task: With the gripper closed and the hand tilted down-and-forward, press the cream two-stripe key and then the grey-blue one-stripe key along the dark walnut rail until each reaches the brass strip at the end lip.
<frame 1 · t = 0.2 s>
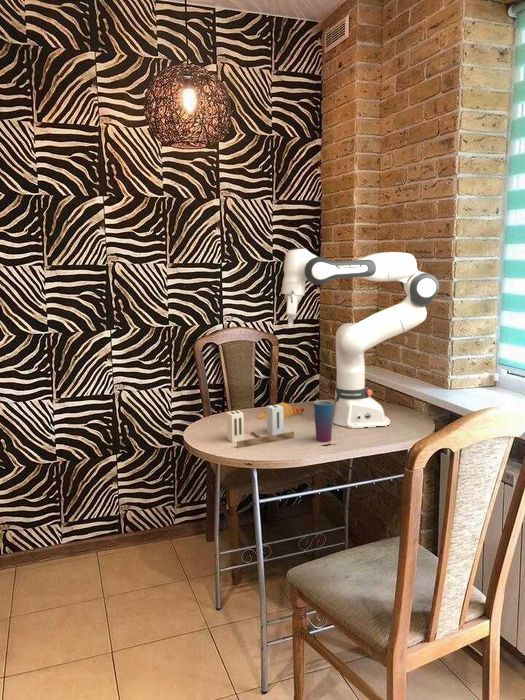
hand: (290, 325, 218), 39 cm above the table, tool pointing down, fingers open, 8 cm apart
key one: (275, 419, 205), point 6 cm above the table, slide at 0.0 cm
rail board: (259, 442, 200), on the table
key two: (235, 426, 198), point 6 cm above the table, slide at 0.0 cm
croissant: (280, 419, 231), on the table
cup: (323, 444, 197), on the table
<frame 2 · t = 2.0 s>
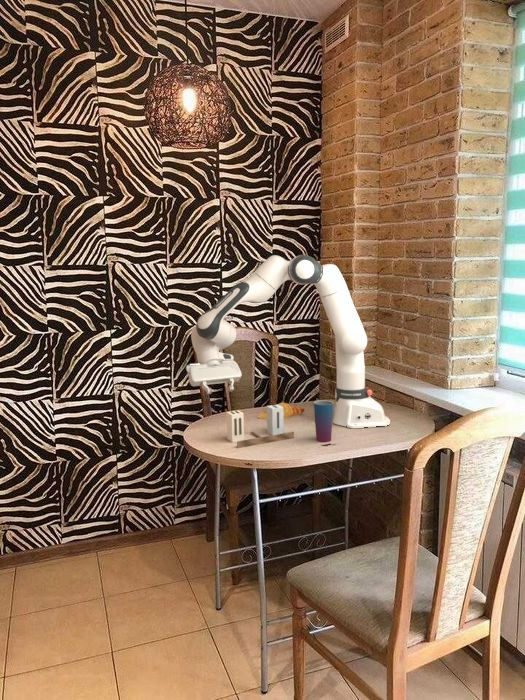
hand: (220, 391, 208), 16 cm above the table, tool tilted 45°, fingers open, 7 cm apart
nothing on the table moved.
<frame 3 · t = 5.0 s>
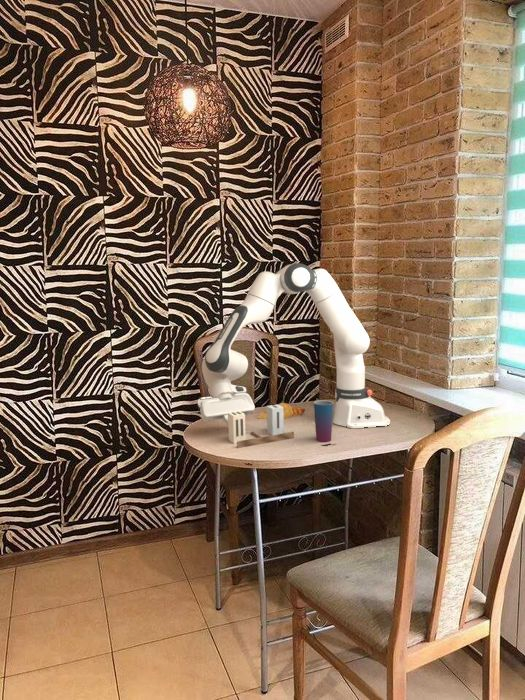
hand: (233, 426, 200), 6 cm above the table, tool tilted 45°, fingers closed, pressing on key two
key two: (236, 427, 197), point 6 cm above the table, slide at 1.3 cm, touching gripper
everything else where it was.
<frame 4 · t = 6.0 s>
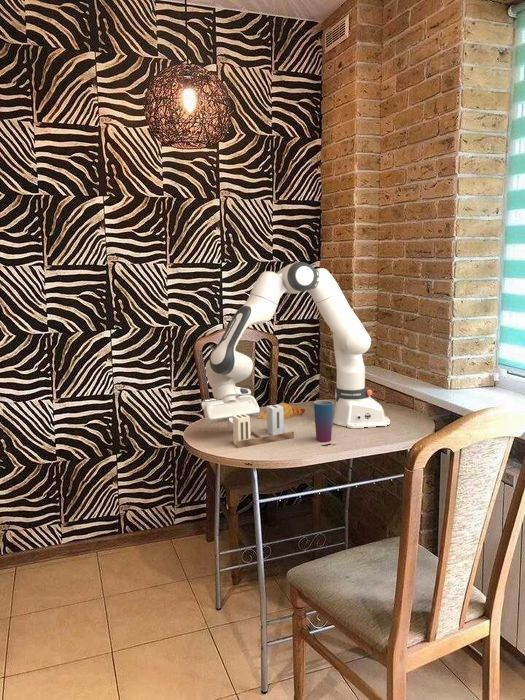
hand: (238, 429, 196), 6 cm above the table, tool tilted 45°, fingers closed, pressing on key two
key two: (241, 430, 193), point 6 cm above the table, slide at 5.4 cm, touching gripper
everything else where it was.
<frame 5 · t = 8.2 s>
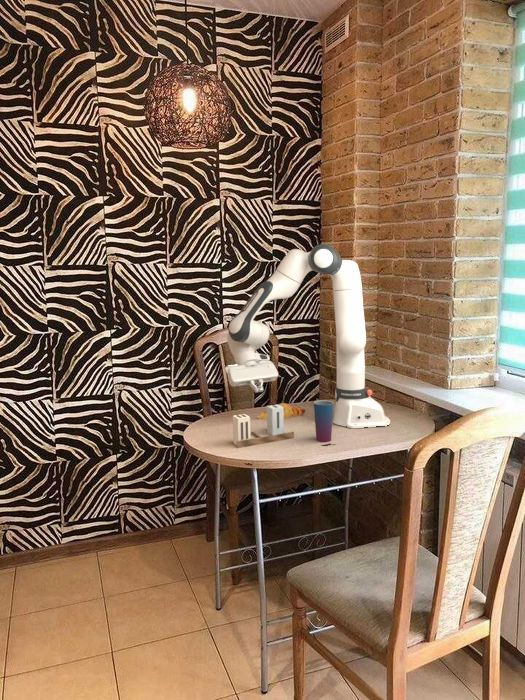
hand: (259, 391, 214), 15 cm above the table, tool tilted 45°, fingers closed
key two: (241, 430, 193), point 6 cm above the table, slide at 5.4 cm
everything else where it was.
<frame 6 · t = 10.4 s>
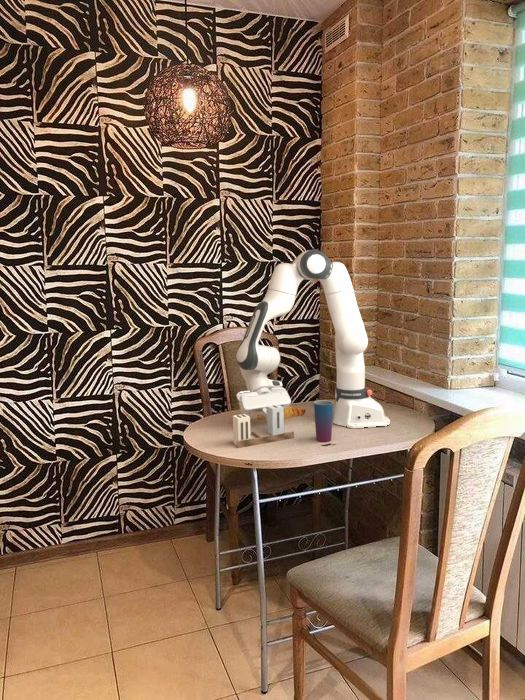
hand: (271, 419, 208), 6 cm above the table, tool tilted 45°, fingers closed, pressing on key one
key one: (275, 419, 205), point 6 cm above the table, slide at 0.1 cm, touching gripper
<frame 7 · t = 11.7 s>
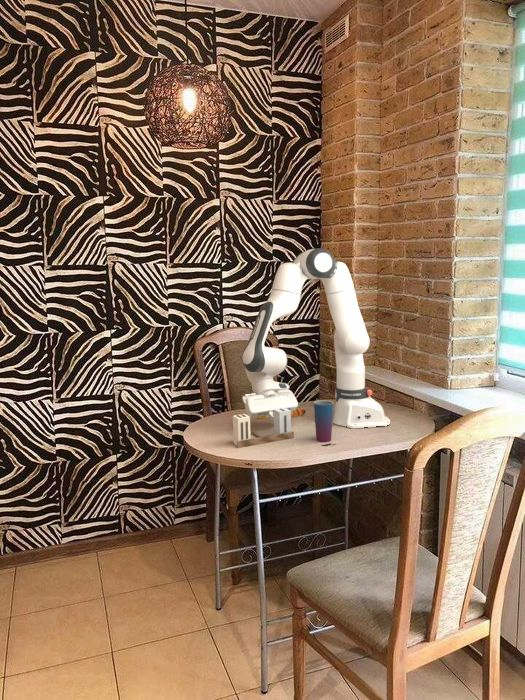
hand: (278, 423, 203), 6 cm above the table, tool tilted 45°, fingers closed, pressing on key one
key one: (282, 423, 200), point 6 cm above the table, slide at 5.4 cm, touching gripper
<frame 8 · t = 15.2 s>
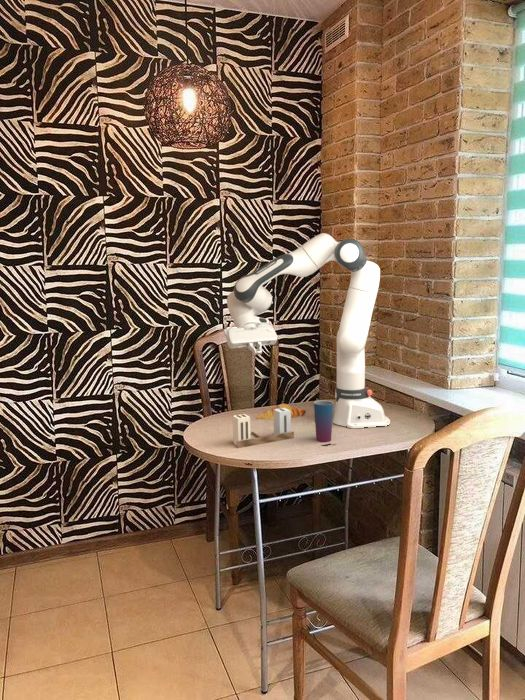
hand: (258, 353, 212), 29 cm above the table, tool tilted 45°, fingers closed
key one: (282, 423, 200), point 6 cm above the table, slide at 5.4 cm
at the end: key two slide at 5.4 cm; key one slide at 5.4 cm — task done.
